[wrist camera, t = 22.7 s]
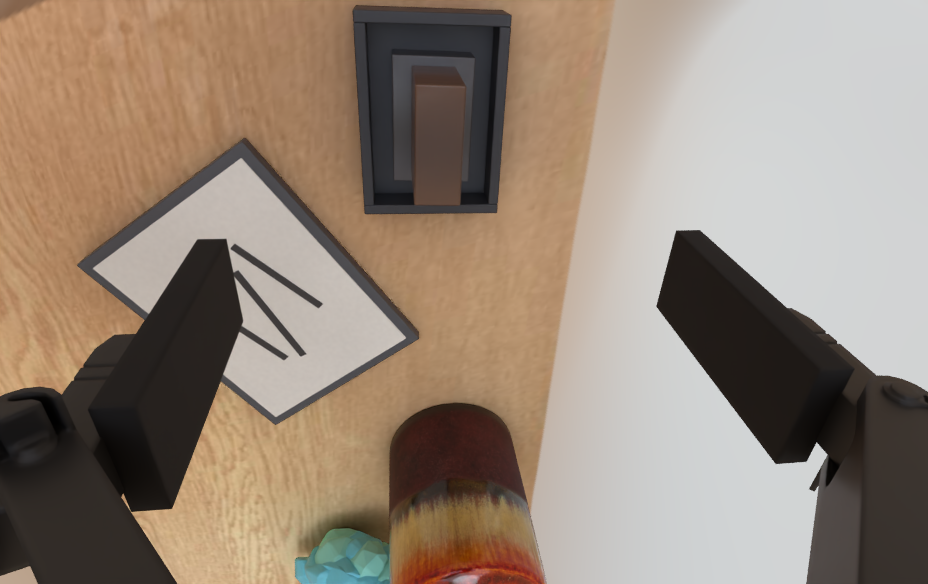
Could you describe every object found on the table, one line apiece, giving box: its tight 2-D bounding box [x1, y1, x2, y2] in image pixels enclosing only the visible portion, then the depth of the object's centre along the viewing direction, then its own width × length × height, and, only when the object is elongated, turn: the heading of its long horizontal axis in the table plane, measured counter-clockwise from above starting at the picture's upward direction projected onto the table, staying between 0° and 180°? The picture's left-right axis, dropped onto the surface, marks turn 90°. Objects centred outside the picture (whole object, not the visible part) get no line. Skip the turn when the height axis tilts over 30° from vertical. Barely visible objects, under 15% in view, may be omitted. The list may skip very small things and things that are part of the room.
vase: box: [389, 404, 547, 584], centre depth 40 cm, size 11×11×20 cm
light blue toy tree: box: [295, 528, 389, 584], centre depth 53 cm, size 11×9×15 cm
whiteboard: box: [77, 138, 419, 425], centre depth 39 cm, size 18×14×1 cm
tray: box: [353, 5, 512, 214], centre depth 32 cm, size 11×8×3 cm
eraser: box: [392, 49, 476, 206], centre depth 30 cm, size 7×4×7 cm, turn 177°
